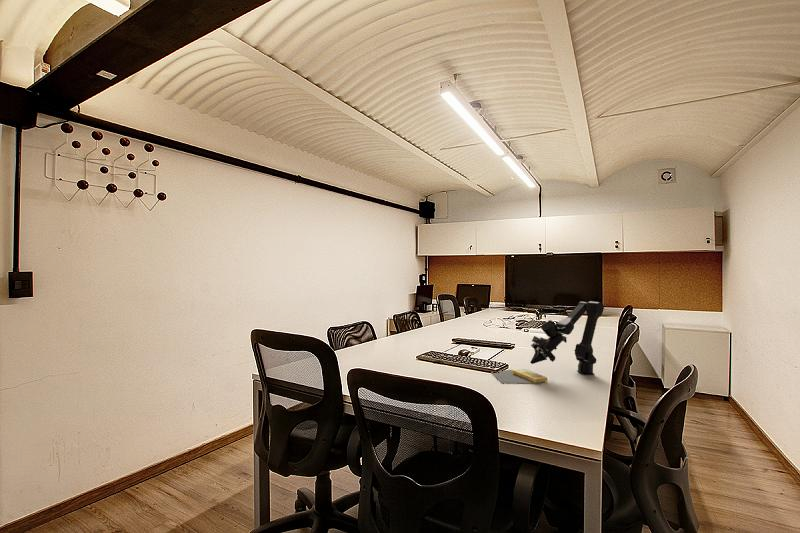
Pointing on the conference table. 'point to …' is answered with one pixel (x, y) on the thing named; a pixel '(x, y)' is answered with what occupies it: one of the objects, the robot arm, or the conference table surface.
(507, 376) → the mat
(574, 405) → the conference table surface
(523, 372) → the candy box
